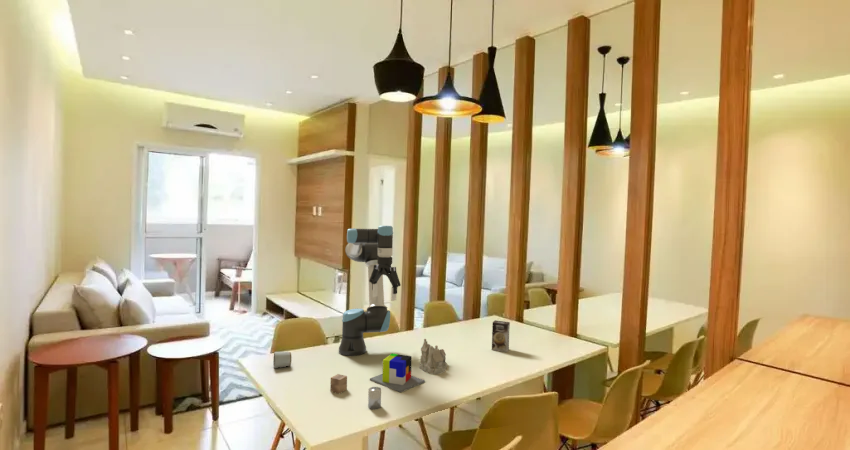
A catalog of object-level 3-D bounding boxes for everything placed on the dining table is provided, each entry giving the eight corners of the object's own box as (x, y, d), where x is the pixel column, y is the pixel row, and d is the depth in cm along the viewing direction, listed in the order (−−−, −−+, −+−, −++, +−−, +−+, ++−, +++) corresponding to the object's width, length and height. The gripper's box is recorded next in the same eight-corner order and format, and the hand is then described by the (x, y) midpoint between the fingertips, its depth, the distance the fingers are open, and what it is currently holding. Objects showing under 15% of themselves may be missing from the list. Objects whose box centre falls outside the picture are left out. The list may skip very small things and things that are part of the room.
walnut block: (330, 391, 183) (330, 377, 183) (337, 387, 187) (337, 373, 187) (339, 393, 180) (339, 379, 180) (346, 389, 185) (347, 376, 185)
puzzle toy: (402, 385, 189) (403, 362, 189) (382, 381, 192) (382, 359, 192) (411, 377, 198) (411, 356, 198) (391, 374, 202) (392, 353, 202)
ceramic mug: (291, 368, 210) (292, 352, 210) (274, 370, 206) (274, 354, 206) (288, 361, 219) (289, 346, 219) (272, 363, 216) (272, 348, 216)
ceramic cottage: (429, 375, 203) (431, 343, 204) (414, 365, 218) (416, 336, 218) (456, 372, 210) (458, 342, 211) (440, 363, 225) (442, 334, 226)
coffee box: (491, 350, 244) (491, 322, 244) (493, 347, 250) (494, 319, 250) (507, 352, 241) (507, 324, 241) (509, 349, 247) (509, 321, 247)
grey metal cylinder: (365, 406, 168) (365, 389, 168) (374, 402, 172) (375, 385, 172) (374, 410, 165) (374, 393, 165) (383, 406, 169) (383, 389, 169)
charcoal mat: (369, 380, 196) (369, 378, 196) (394, 371, 208) (394, 369, 208) (400, 392, 183) (400, 390, 183) (424, 382, 195) (424, 380, 195)
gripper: (362, 254, 218) (362, 296, 218) (397, 258, 201) (396, 303, 202) (373, 254, 223) (373, 294, 224) (408, 257, 207) (407, 301, 207)
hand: (384, 298), depth 213 cm, fingers open, 13 cm apart
